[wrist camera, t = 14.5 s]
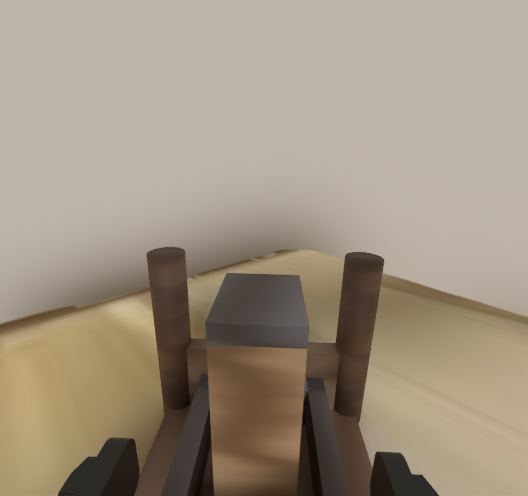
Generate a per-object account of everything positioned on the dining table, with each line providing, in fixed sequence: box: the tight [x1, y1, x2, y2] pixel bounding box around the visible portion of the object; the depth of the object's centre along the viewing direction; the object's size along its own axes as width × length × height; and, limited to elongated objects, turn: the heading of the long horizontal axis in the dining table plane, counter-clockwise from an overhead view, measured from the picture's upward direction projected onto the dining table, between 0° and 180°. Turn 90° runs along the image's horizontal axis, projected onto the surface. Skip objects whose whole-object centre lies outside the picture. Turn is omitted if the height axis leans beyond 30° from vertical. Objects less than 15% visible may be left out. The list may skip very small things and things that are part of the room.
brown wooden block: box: [205, 273, 309, 496], centre depth 15 cm, size 4×5×12 cm
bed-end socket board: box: [134, 247, 384, 496], centre depth 16 cm, size 15×12×13 cm
